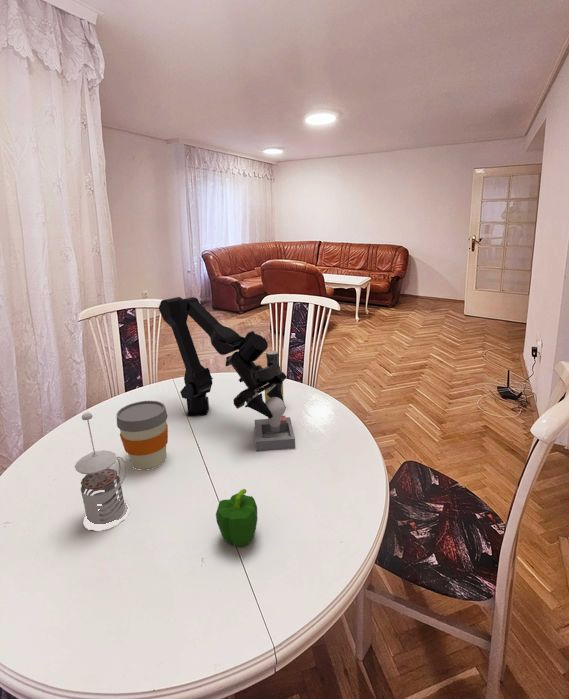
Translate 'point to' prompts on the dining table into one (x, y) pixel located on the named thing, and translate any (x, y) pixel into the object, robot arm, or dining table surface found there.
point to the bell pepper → (237, 519)
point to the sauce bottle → (270, 357)
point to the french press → (101, 484)
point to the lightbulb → (275, 412)
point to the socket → (277, 442)
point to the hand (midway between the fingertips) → (278, 413)
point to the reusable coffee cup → (144, 433)
